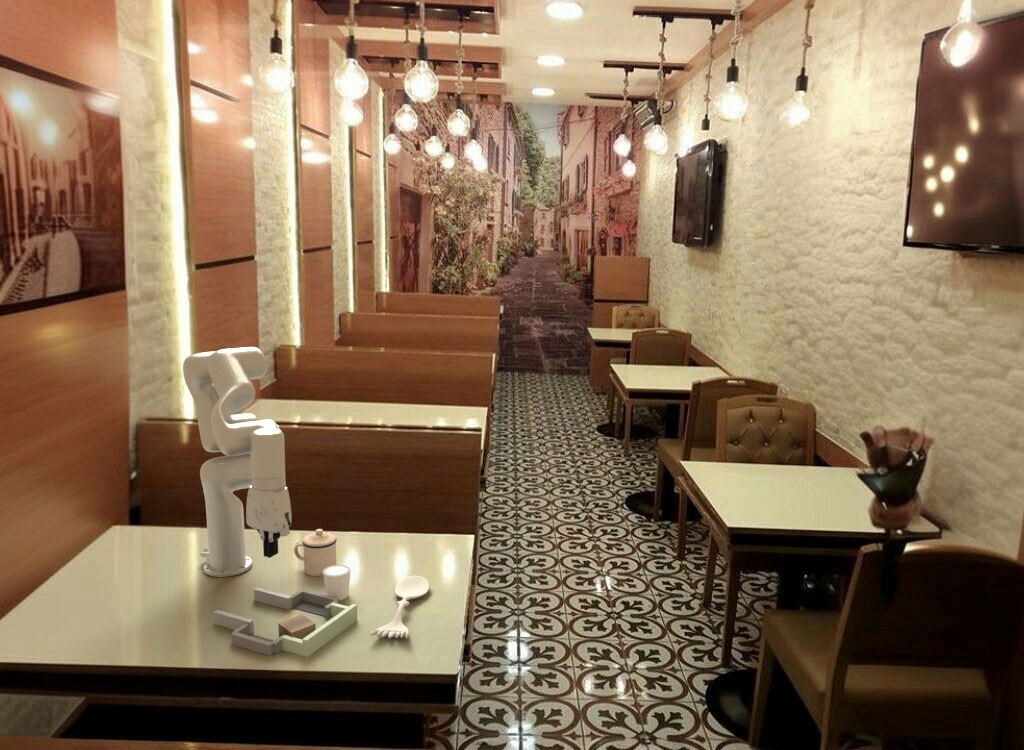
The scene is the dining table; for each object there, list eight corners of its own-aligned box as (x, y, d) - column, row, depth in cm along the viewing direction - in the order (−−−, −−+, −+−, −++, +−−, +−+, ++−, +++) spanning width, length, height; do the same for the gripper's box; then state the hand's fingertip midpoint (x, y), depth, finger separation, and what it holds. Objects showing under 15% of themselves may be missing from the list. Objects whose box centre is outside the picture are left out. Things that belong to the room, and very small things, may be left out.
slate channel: (208, 627, 184) (207, 611, 183) (263, 595, 200) (262, 580, 200) (307, 657, 172) (306, 640, 171) (357, 620, 188) (356, 604, 188)
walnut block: (279, 639, 180) (278, 623, 179) (302, 630, 184) (301, 614, 183) (292, 649, 175) (291, 632, 175) (316, 639, 180) (315, 623, 179)
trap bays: (229, 643, 177) (229, 633, 177) (301, 597, 199) (301, 588, 199) (272, 656, 172) (271, 646, 171) (341, 608, 194) (341, 598, 194)
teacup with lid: (342, 564, 219) (341, 525, 217) (329, 578, 210) (328, 537, 208) (302, 560, 221) (301, 521, 219) (287, 574, 212) (286, 533, 210)
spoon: (369, 646, 177) (368, 632, 177) (399, 583, 209) (399, 571, 208) (408, 648, 177) (408, 634, 176) (433, 585, 208) (433, 573, 207)
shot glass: (344, 603, 197) (343, 577, 195) (319, 600, 198) (318, 574, 197) (355, 591, 203) (354, 565, 202) (330, 588, 205) (329, 563, 203)
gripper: (232, 480, 180) (235, 554, 184) (283, 492, 174) (285, 568, 178) (255, 471, 187) (257, 542, 191) (305, 482, 181) (306, 555, 185)
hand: (271, 554), depth 185 cm, fingers closed
